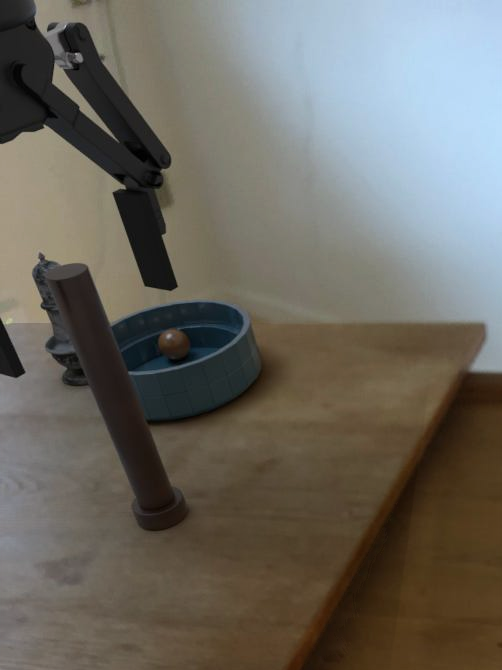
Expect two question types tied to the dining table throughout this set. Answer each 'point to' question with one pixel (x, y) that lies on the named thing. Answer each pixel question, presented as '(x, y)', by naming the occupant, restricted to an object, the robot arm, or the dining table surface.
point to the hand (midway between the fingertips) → (89, 327)
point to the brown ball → (174, 344)
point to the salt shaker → (57, 328)
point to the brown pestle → (115, 396)
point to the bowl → (188, 357)
